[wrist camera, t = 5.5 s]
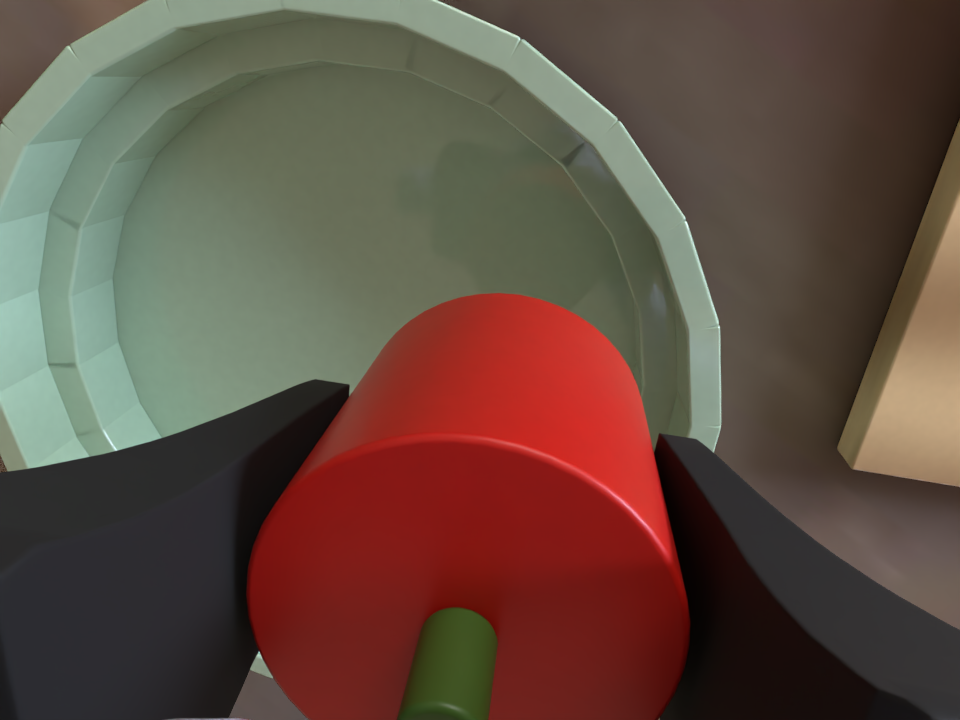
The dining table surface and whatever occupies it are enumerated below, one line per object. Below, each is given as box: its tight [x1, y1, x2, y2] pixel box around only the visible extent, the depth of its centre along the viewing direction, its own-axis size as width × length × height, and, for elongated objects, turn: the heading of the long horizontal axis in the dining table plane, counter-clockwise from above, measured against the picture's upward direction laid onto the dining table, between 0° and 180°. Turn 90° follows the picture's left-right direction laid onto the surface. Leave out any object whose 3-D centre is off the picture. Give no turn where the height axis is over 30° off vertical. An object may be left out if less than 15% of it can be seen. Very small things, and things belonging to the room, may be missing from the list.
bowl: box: [0, 0, 722, 678], centre depth 19 cm, size 18×18×4 cm
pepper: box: [246, 293, 690, 720], centre depth 10 cm, size 5×5×7 cm
